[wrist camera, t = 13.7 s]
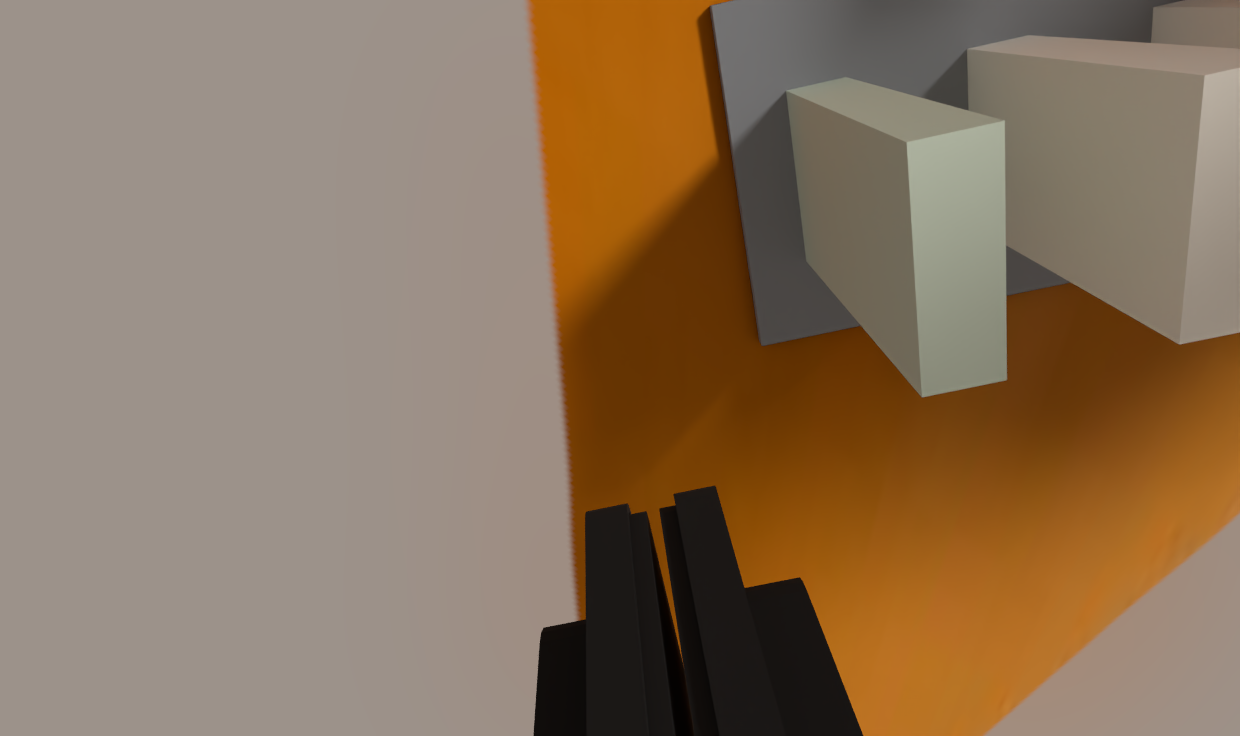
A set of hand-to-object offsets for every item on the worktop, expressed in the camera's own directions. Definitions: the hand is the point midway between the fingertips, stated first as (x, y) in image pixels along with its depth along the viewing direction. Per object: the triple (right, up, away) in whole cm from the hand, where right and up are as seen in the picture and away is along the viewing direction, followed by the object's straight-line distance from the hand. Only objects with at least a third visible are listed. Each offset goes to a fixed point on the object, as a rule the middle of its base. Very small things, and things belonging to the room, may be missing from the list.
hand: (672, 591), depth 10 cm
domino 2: (+12, +11, +17) cm, 24 cm away
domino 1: (+6, +10, +17) cm, 21 cm away
